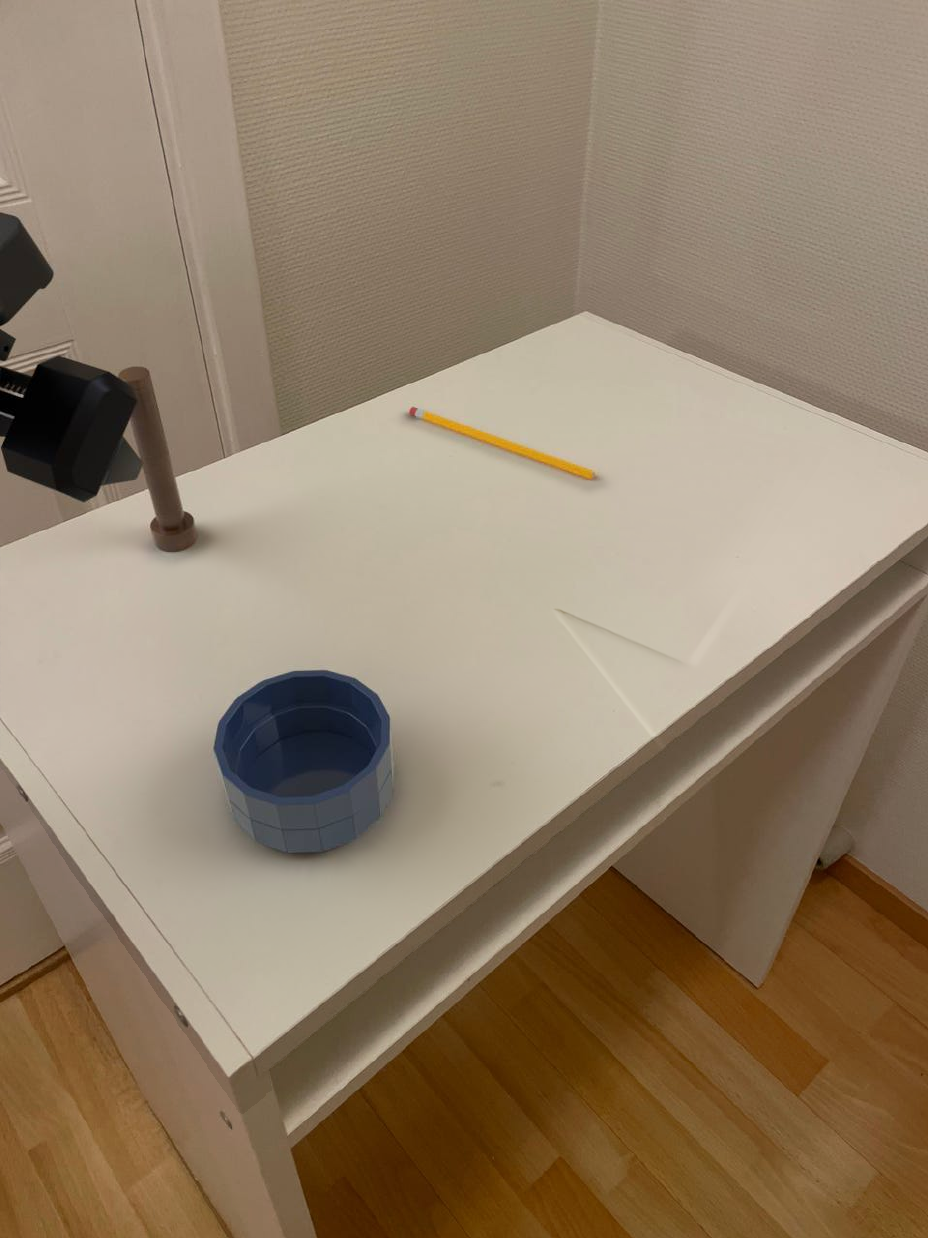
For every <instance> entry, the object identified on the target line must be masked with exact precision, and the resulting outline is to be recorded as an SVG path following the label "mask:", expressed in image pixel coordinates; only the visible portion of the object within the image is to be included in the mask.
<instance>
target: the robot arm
mask: <svg viewBox="0 0 928 1238" xmlns="http://www.w3.org/2000/svg"><path fill="white" fill-rule="evenodd" d="M54 274H55V273H54V270H53V268H52V267H51V265H50V263H49V262H48V261H47V259H46V257H45V256H44V255H43V252H42V251H41V250H40V249H39V246H38V245H37V244H36V241H34V239H33V238H32V236H31V234H30V233H29V231H28V230H27V228H26V227H25V225H24V224H23V222H22V221H21V219H20V218H19V217H18V216H15V215H13V214H9V213H5V212H1V211H0V327H3V326H5V325H6V324H8V323H9V322H10V321H11V320H12V319H13V318H14V317H15V316H16V315H17V314H18V313H19V312H20V310H22V308H23V307H24V306H25V305H26V304H27V303H28V302H29V301H30V300H31V299H32V298H33V297H34V295H35V294H36V293H37V292H38V291H39V290H44V289H45V290H46V288H47V287H48V286H49V285H50V283H51V282H52V281H53V279H54V276H55V275H54ZM16 340H17V338H16V337H14V336H13V335H11V334H9V333H8V332H6V331H4V330H3V329H1V328H0V361H2V362H6V361H7V360H8V358H9V357H10V354H11V352H12V349H13V347H14V345H15V343H16ZM0 388H1V389H0V438H4V439H3V441H2V444H1V446H0V450H1V454H2V457H3V462H4V464H5V468H6V471H7V473H10V474H12V475H15V476H17V477H19V478H21V479H24V480H26V481H29V482H31V483H34V484H36V485H38V486H41V487H42V488H45V489H48V490H51V491H53V492H56V493H58V494H60V495H63V496H66V497H69V498H70V499H74V500H76V501H79V502H81V503H86V502H88V501H89V500H91V499H93V498H95V497H97V496H98V494H99V492H100V490H101V488H102V486H107V485H108V486H109V485H113V484H119V483H125V482H130V481H131V482H132V481H136V480H137V479H138V478H139V475H140V473H141V472H142V470H143V467H142V466H143V462H142V461H141V459H140V456H139V454H137V452H136V451H135V450H134V449H133V447H132V446H131V444H130V443H129V442H128V440H127V439H126V438H125V437H124V435H125V432H126V429H127V427H128V424H129V422H130V418H131V415H132V413H133V411H134V409H135V406H136V404H137V402H138V400H137V397H136V393H135V390H134V388H133V387H132V386H130V385H129V384H127V383H126V382H124V381H123V380H121V379H120V378H118V375H115V374H113V373H112V372H110V371H109V370H105V369H102V368H99V367H96V366H93V365H90V364H87V363H83V362H80V361H77V360H75V359H71V358H68V357H65V356H62V355H59V354H58V355H56V356H54V357H51V358H49V359H47V360H44V361H41V362H39V363H37V364H36V366H35V369H34V371H33V373H32V375H29V374H26V373H23V372H20V371H18V370H15V369H12V368H8V367H6V366H3V365H0ZM2 389H4V390H2ZM6 390H7V391H11V392H12V393H11V392H7V391H6ZM14 393H17V394H18V395H16V394H14ZM19 395H21V396H19Z"/></svg>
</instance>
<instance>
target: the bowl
mask: <svg viewBox="0 0 928 1238" xmlns="http://www.w3.org/2000/svg"><path fill="white" fill-rule="evenodd" d="M212 749H213V754H214V757H215V762H216V765H217V768H218V771H219V775H220V779H221V783H222V786H223V790H224V793H225V797H226V801H227V803H228V806H229V809H230V812H231V815H232V818H233V821H234V822H235V824H236V825H237V826H238V827H239V828H240V829H241V830H242V831H244V832H245V833H246V834H247V835H248V836H249V837H250V839H252V840H253V841H255V842H256V843H258V844H260V845H263V846H266V847H268V848H272V849H274V850H278V851H281V852H284V853H288V854H293V853H294V854H296V853H299V854H300V853H320V852H321V853H322V852H326V851H328V850H331V849H334V848H337V847H339V846H341V845H345V844H347V843H349V842H352V841H355V840H357V838H359V837H360V836H361V835H362V834H363V833H364V832H366V831H367V830H368V829H369V828H370V827H372V826H373V825H374V824H375V823H376V822H378V820H380V818H381V817H382V815H383V813H384V811H385V809H386V808H387V805H388V803H389V801H390V800H391V798H392V795H394V794H393V793H394V785H395V784H394V783H395V781H394V775H395V774H394V773H395V772H394V771H395V766H394V765H395V764H394V752H393V751H394V750H393V737H392V723H391V717H390V714H389V713H388V711H387V709H386V707H385V705H384V703H383V702H382V700H381V697H380V696H379V694H378V693H377V692H375V691H374V690H372V689H371V688H370V687H368V686H367V685H366V684H364V683H363V682H362V681H360V680H359V679H357V678H355V677H353V676H349V675H346V674H343V673H339V672H336V671H331V670H328V669H315V670H314V669H310V670H307V669H306V670H305V669H304V670H291V671H287V672H285V673H282V674H279V675H276V676H272V677H269V678H266V679H263V680H261V681H259V682H257V683H256V684H255V685H253V686H252V687H250V688H249V689H247V690H245V692H242V694H240V695H238V696H237V697H236V698H235V699H234V700H233V701H232V703H231V704H230V705H229V706H228V709H227V710H226V711H225V712H224V714H223V716H222V717H221V718H220V719H219V721H218V723H217V728H216V733H215V737H214V743H213V748H212Z"/></svg>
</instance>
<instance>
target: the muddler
mask: <svg viewBox="0 0 928 1238" xmlns="http://www.w3.org/2000/svg"><path fill="white" fill-rule="evenodd" d="M117 377H118V378H120V379H121V380H123V381H124V382H126V383H127V384H129V385H130V386H132V387H133V388H134V390H135V393H136V397H137V400H138V402H137V404H136V406H135V409H134V411H133V413H132V415H131V418H130V420H129V422H130V426H131V430H132V434H133V437H134V441H135V444H136V449H137V452H138V457H139V458H140V459H141V461H142V462H143V466H142V471H143V474H144V477H145V482H146V485H147V488H148V489H147V490H148V493H149V496H150V500H151V504H152V509H153V511H154V515H155V516H154V517H153V518H152V520H151V521H150V523H149V528H150V532H151V536H152V539H153V543H154V545H155V547H156V548H157V549H159V550H160V551H163V552H169V553H170V552H181V551H183V550H186V549H188V548H190V547H191V546H193V545H194V544H195V543H196V541H197V539H198V531H197V527H196V523H195V518H194V516H193V515H192V514H191V513H190V512H188V511H185V510H184V508H183V503H182V500H181V495H180V492H179V487H178V483H177V479H176V475H175V471H174V466H173V463H172V458H171V455H170V450H169V447H168V442H167V438H166V434H165V430H164V426H163V422H162V418H161V414H160V410H159V405H158V401H157V397H156V392H155V388H154V384H153V381H152V377H151V373H150V370H149V369H148V368H146V367H144V366H129V367H127V368H126V367H125V368H124V369H122V370H121V371H119V373H118V374H117Z"/></svg>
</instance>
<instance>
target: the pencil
mask: <svg viewBox="0 0 928 1238" xmlns="http://www.w3.org/2000/svg"><path fill="white" fill-rule="evenodd" d="M408 411H409V412H408V413H409V415H410V416H411V417H414V418H417V419H419V420H423V421H425V422H427V423H428V422H429V423H431V424H433V425H436V426H439V427H442V428H445V429H447V430H451V431H453V432H456V433H459V434H461V435H464V436H467V437H470V438H473V439H476V440H478V441H481V442H484V443H487V444H489V445H492V446H495V447H497V448H500V449H504V450H505V451H509V452H511V453H514V454H517V455H520V456H523V457H526V458H528V459H531V460H534V461H535V462H540V463H542V464H545V465H548V466H550V467H552V468H556V469H559V470H562V471H564V472H567V473H570V474H573V475H575V476H578V477H581V478H583V479H587V480H590V481H592V480H593V479H594V477H595V474H596V473H595V470H592V469H589V468H586V467H584V466H581V465H578V464H575V463H572V462H570V461H567V460H564V459H561V458H558V457H555V456H553V455H550V454H548V453H544V452H542V451H539V450H536V449H533V448H530V447H528V446H525V445H522V444H519V443H516V442H513V441H510V440H507V439H505V438H503V437H499V436H496V435H495V434H492V433H491V434H490V433H488V432H485V431H483V430H480V429H477V428H474V427H471V426H468V425H465V424H463V423H460V422H458V421H454V420H452V419H449V418H446V417H444V416H441V415H437V414H435V413H432V412H428V411H426V410H424V409H421V408H418V407H415V406H412V407H410V408H409V410H408Z"/></svg>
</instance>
